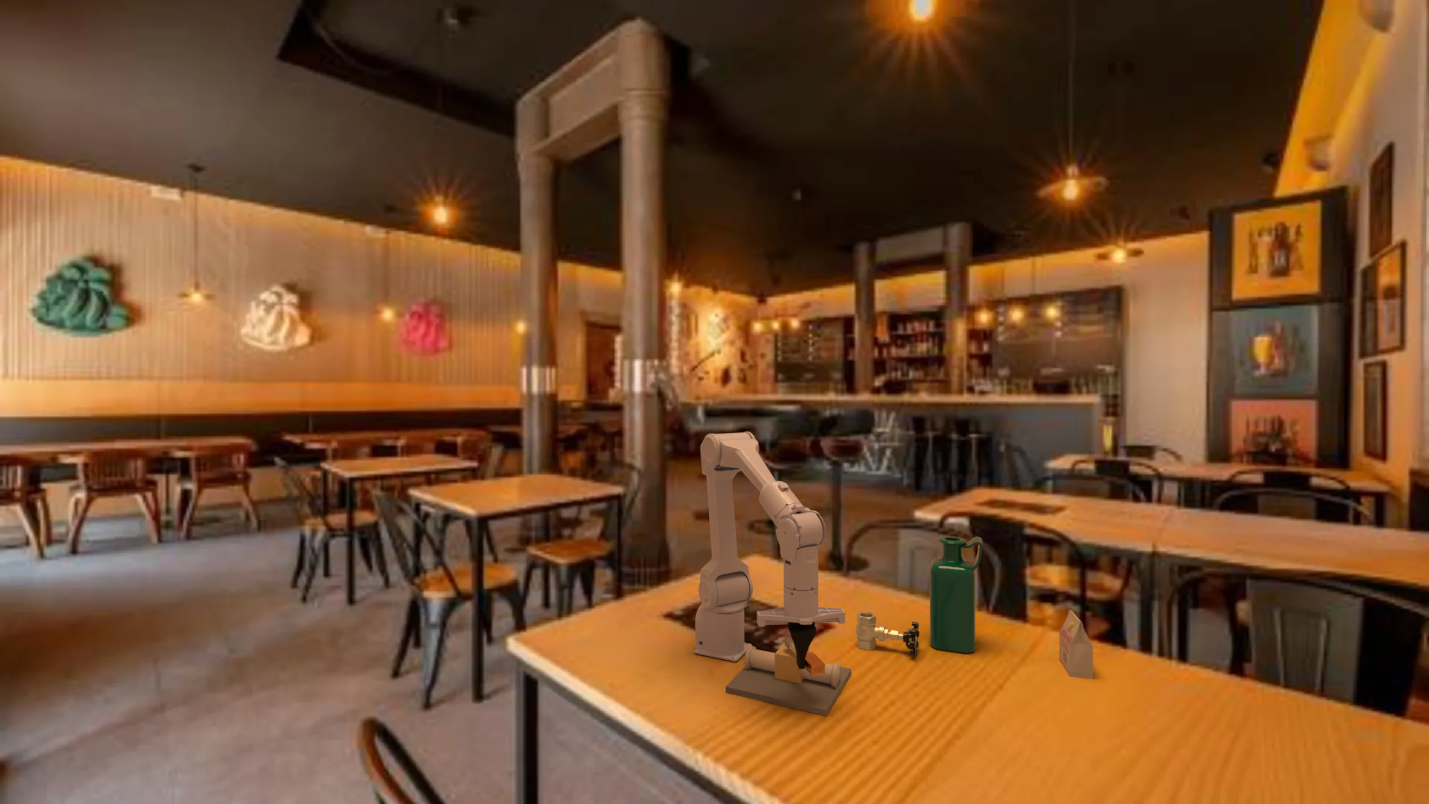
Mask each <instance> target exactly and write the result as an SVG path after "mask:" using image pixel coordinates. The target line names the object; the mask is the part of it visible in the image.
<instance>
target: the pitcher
mask: <svg viewBox="0 0 1429 804" xmlns="http://www.w3.org/2000/svg"><path fill="white" fill-rule="evenodd" d="M938 542H940V543H941V544H942V556H937V557H934V558H933V559H932V561H931V564H930V568H929V644H930V646H931V647H932V648H934V649H937V650H940V651H947V652H948V651H949V652H953V653H959V654H962V653H963V654H972V653H974V652H975V651H976V570H977V568H978V567H979V565H980V564H981V559H982V553H983V552H982V551H983V539H982V537H980V536H974V537H972V538H971V539H970V540H966V539H965V538H962V537H957V536H948V535H947V536H941V537H939V538H938ZM976 545H978V547H977V552H976V553H977V554H976V556H975V558H974V559H973V560H972V561H971V560H969V559H966V558H963V551H962V550H963V549H970V548H972V547H974V546H976Z"/></svg>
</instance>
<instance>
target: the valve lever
mask: <svg viewBox="0 0 1429 804" xmlns="http://www.w3.org/2000/svg"><path fill="white" fill-rule="evenodd" d="M784 644H785V647H787V649H788V650H790V651H792V652H793V653H794V654H795V655H796V649H795V646H794V643H793V640H792V637H791V636H787V637H785V638H784ZM805 669H806V670H807V671H808V672H809V673H810V674H811V675H818V674H825V662H824V661H823V660H822V659H821V658H820V657H818V656H817V654H816V653H814V652H812V651H811V652H810V650H809V651H807V654H806V658H805Z"/></svg>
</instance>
